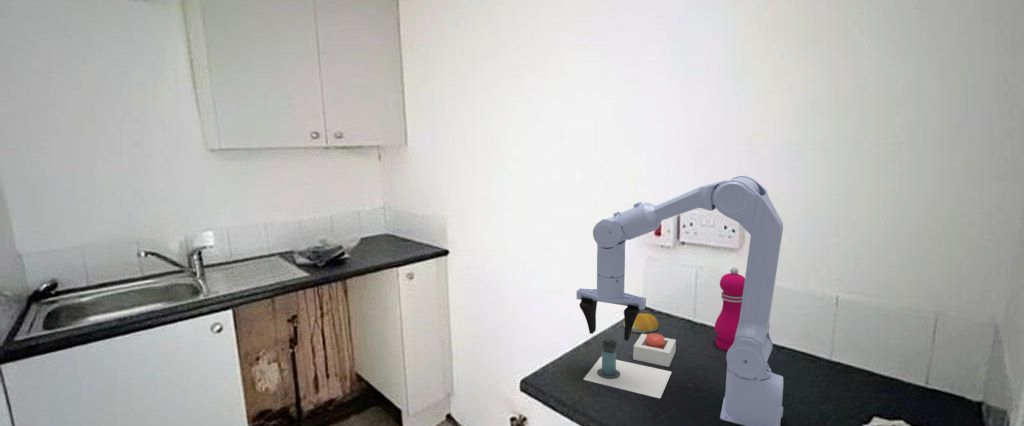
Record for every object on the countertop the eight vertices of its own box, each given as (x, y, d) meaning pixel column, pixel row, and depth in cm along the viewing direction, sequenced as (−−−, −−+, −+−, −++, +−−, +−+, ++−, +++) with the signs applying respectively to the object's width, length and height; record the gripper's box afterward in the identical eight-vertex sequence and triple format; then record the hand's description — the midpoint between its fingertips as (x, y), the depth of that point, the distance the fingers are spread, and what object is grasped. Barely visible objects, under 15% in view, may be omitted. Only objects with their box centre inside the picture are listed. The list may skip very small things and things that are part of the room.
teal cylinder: (617, 371, 104) (618, 341, 103) (613, 377, 101) (614, 346, 100) (604, 368, 105) (604, 338, 104) (599, 374, 103) (600, 344, 102)
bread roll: (664, 330, 126) (664, 316, 126) (636, 336, 123) (636, 322, 122) (644, 320, 134) (645, 306, 133) (617, 325, 131) (618, 311, 130)
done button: (665, 345, 112) (665, 335, 111) (661, 352, 108) (662, 341, 108) (648, 341, 113) (648, 332, 113) (644, 348, 110) (644, 338, 110)
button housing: (675, 353, 113) (675, 339, 112) (668, 368, 106) (669, 353, 105) (641, 346, 117) (641, 333, 116) (633, 360, 110) (633, 346, 109)
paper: (671, 373, 104) (671, 371, 104) (660, 399, 93) (660, 398, 93) (601, 357, 111) (601, 356, 111) (583, 380, 101) (583, 379, 101)
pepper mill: (751, 353, 113) (757, 271, 109) (720, 353, 113) (725, 271, 109) (737, 340, 120) (742, 263, 116) (708, 340, 120) (713, 263, 117)
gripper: (650, 273, 100) (648, 334, 102) (584, 265, 107) (584, 322, 109) (641, 282, 94) (640, 347, 96) (573, 273, 100) (572, 334, 103)
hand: (609, 335), depth 102 cm, fingers open, 7 cm apart
